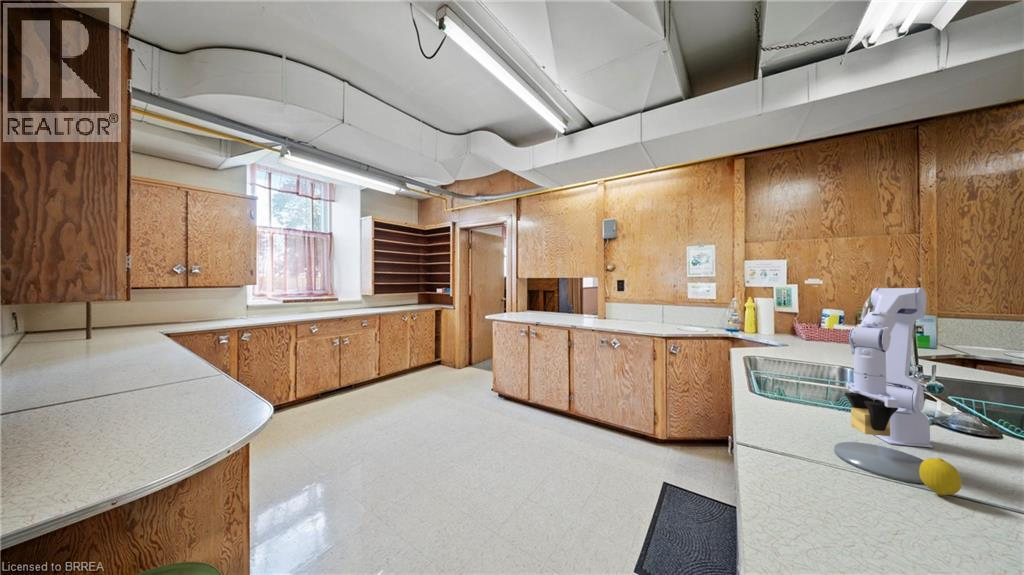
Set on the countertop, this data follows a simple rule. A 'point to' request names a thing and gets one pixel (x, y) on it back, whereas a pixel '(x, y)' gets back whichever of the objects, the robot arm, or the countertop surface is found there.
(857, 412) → the cube
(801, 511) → the countertop surface
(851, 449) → the plate
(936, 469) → the lemon
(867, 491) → the countertop surface
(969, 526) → the countertop surface
